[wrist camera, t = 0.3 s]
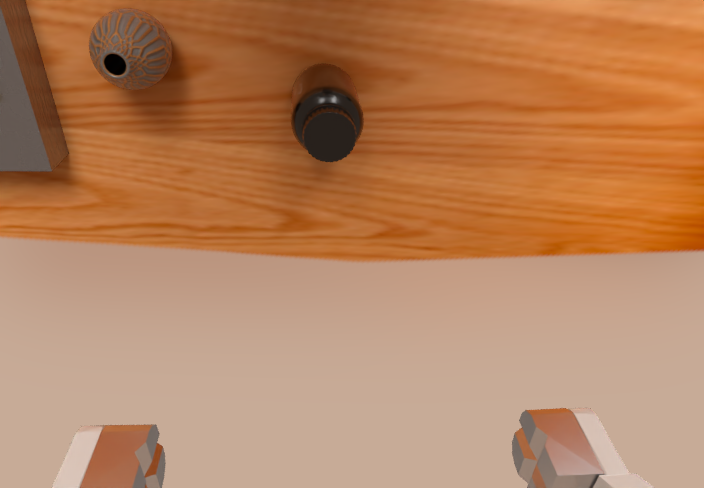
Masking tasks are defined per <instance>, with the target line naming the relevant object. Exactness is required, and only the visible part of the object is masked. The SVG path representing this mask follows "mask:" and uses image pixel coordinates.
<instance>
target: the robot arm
mask: <svg viewBox="0 0 704 488" xmlns="http://www.w3.org/2000/svg"><path fill="white" fill-rule="evenodd" d="M519 421H520V423H521V426H522V428H521V429H519V430H518V431H517V432H515V434H514V438H513V441H512V454H513V459H514V464H515V467H516V469H517V472H518V475H519V476H520V477H522V478H523V479H524V480H525V481H526V482H527V483H528V487H527V488H654V487H653V486H652V485H650V484H649V483H648V482H646V481H645V480H644V479H642V478H641V477H640V476H639V475H637V474H635V473H634V474H632V473H629V472H628V470H627V468H626V467H625V465H624V463H623V461H622V459H621V458H620V456H619V454H618V452H617V451H616V449H615V447H614V445H613V444H612V442H611V440H610V438H609V436H608V435H607V433H606V431H605V429H604V428H603V426H602V424H601V422H600V420H599V419H598V417H597V415H596V414H595V412H594V411H593V410H592V409H591V408H575V409H566V408H560V409H541V410H525V411H524V412H523V413H522V414H521V417H520V420H519ZM158 437H159V431H158V429H157V425H100V426H99V425H98V426H81V427H80V429H79V430H78V431H77V432H76V433H75V435H74V438H73V440H72V442H71V445H70V447H69V449H68V451H67V454H66V456H65V458H64V460H63V463H62V465H61V467H60V470H59V472H58V474H57V477H56V479H55V481H54V484H53V486H52V488H162V485H163V480H164V472H165V453H164V449H163V446H161V445H160V444H158V443H157V441H158Z"/></svg>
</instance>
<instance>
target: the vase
mask: <svg viewBox="0 0 704 488" xmlns="http://www.w3.org/2000/svg"><path fill="white" fill-rule="evenodd" d="M89 50H90V56H91V59H92V61H93V64H94V66H95V67H96V69H97V70H98V72H99V73H100V74H101V75H102V76H103V77H104V78H105V79H106V80H108V81H109V82H110V83H112V84H114V85H116V86H118V87H121V88H125V89H131V90H138V89H144V88H148V87H151V86H153V85H154V84H156V83H158V82H159V81H160V80H161V79H162V78H163V77H164V76H165V74H166V73H167V71H168V69H169V67H170V64H171V61H172V45H171V41H170V38H169V36H168V34H167V32H166V30H165V29H164V27H163V26H162V25H161V24H160V23H159V22H158V21H157V20H156V19H155V18H153V17H152V16H151V15H149V14H147V13H145V12H143V11H140V10H136V9H129V8H124V9H118V10H114V11H112V12H109V13H107V14H106V15H104V16H103V17H102V18H100V19H99V20H98V22H97V23H96V24H95V26H94V27H93V29H92V32H91V35H90V40H89Z"/></svg>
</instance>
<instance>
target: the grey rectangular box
mask: <svg viewBox="0 0 704 488" xmlns="http://www.w3.org/2000/svg"><path fill="white" fill-rule="evenodd" d="M68 154H69V152H68V149H67V145H66V142H65V138H64V135H63V131H62V128H61V124H60V121H59V117H58V114H57V110H56V107H55V103H54V100H53V96H52V93H51V89H50V86H49V82H48V79H47V76H46V72H45V69H44V65H43V62H42V58H41V55H40V51H39V48H38V44H37V41H36V37H35V34H34V30H33V27H32V23H31V20H30V16H29V13H28V9H27V6H26V2H25V0H0V171H53V170H54V169H55V168H56V167H57V165H58V164H59V163H60V162H61V161H62V160H63V159H64V158H65V157H66V156H67V155H68Z"/></svg>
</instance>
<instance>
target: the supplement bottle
mask: <svg viewBox="0 0 704 488" xmlns="http://www.w3.org/2000/svg"><path fill="white" fill-rule="evenodd" d="M291 124H292V129H293V133H294V135H295V137H296V139H297V141H298V142H299V143H300V144H301V145H302V146H303V147H304V148H305V149H306V150H308V152H309V154H311V155H312V156H313V157H315V158H316V159H318V160H321V161H325V162H333V161H338V160H342V159H343V158H344V157H346V156H347V155H348V154H350V151H352V150H353V147H354V146H355V143H356V142H357V140H358V139H359V137H360V135H361V132H362V129H363V112H362V109H361V105H360V102H359V99H358V96H357V92H356V89H355V86H354V84H353V82H352V80H351V78H350V77H349V75H348V74H347V73H346V72H345V71H343V70H342V69H341V68H339V67H337V66H334V65H331V64H317V65H313V66H311V67H309V68H307V69H305V70H304V71H303V72H302V73H301V74H300V75H299V76H298V78H297V79H296V81H295V83H294V86H293V90H292V109H291Z"/></svg>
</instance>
